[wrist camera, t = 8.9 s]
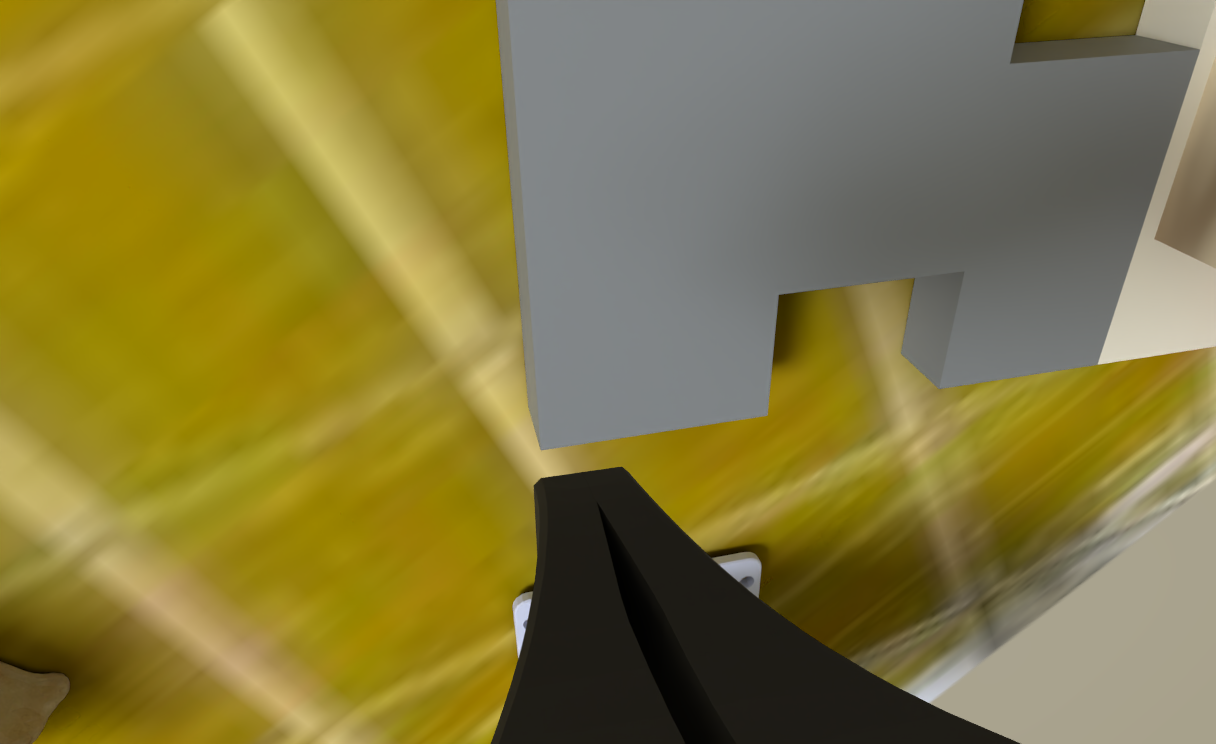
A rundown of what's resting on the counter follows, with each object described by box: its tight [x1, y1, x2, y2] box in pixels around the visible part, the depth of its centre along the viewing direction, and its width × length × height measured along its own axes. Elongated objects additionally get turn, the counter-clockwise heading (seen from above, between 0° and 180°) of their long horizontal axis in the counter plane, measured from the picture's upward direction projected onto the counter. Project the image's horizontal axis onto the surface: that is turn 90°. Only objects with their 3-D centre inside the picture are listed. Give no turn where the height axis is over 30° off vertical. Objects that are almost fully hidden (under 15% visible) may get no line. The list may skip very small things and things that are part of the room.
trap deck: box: [496, 0, 1216, 450], centre depth 20 cm, size 12×23×4 cm, turn 91°
